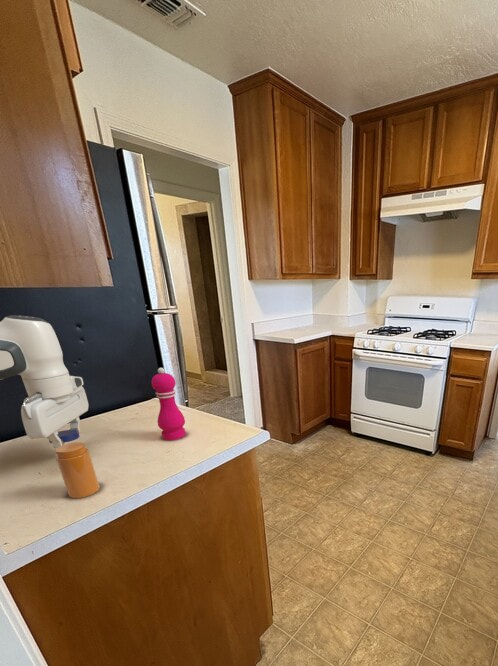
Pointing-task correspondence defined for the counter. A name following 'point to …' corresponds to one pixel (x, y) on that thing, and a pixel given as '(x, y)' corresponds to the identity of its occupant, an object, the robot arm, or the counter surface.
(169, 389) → the pepper mill
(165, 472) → the counter surface
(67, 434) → the jar lid
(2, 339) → the robot arm
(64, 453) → the jar
